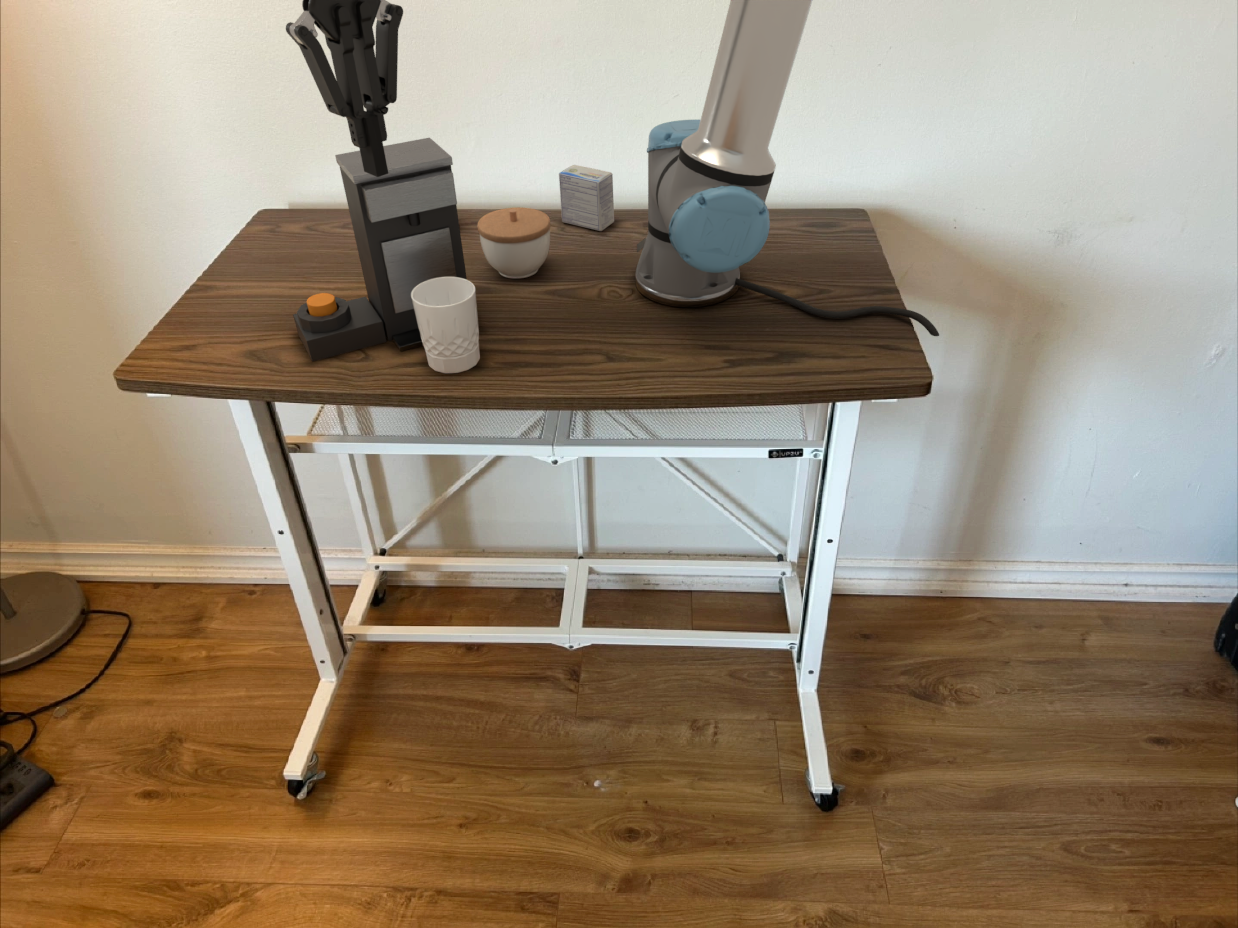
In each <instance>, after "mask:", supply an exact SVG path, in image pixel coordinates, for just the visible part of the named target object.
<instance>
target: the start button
mask: <svg viewBox="0 0 1238 928" xmlns="http://www.w3.org/2000/svg"><path fill="white" fill-rule="evenodd" d="M335 297H336V296H335V295H334V294H332V293H328V292H320V293H316V294H313V295H311V296H309V297H308V298H307V300H306V302H307V306H308V310H309V313H310V315H312V316H327V315H331V314H332V313H334V312H336V311H337V305H336V300H335Z"/></svg>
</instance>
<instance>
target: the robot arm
mask: <svg viewBox="0 0 1238 928" xmlns="http://www.w3.org/2000/svg"><path fill="white" fill-rule="evenodd" d="M813 1H814V0H730V1H729V4H728V10H727V13H726V17H725V21H724V25H723V29H722V33H721V36H720V41H719V45H718V49H717V53H716V57H715V60H714V64H713V68H712V73H711V77H710V82H709V84H708V89H707V92H706V97H705V101H704V104H703V107H702V108H703V109H702V113H701V116H700V119H681V120H671V121H667V122H663V123H660V124H657V125H656V126H654V127H653V128H651V130H650V132H649V134H648V142H647V147H646V154H647V174H648V175H647V180H648V181H647V192H648V193H647V221H648V222H647V234H646V235H647V236H646V237H645V238H643V239H642V240H640V241H639V242H638V243H637V244H636V253H638V252H640V251H641V253H640V256H639V259H638V261H637V264H636V268H635V286H636V288H637V291H639V293H640V294H641V295H642V296H644V297H645V298H647V299H649V300H651V301H653V302H656V303H659V304H661V305H665V306H672V307H680V308H697V307H699V308H700V307H706V306H711V305H716V304H718V303H721V302H723V301H725V300H728V299H729V298H731V297H733V295H735V294H736V293H737V291H738V290H739V288H740V287H741V288H743V289H747V290H750V291H752V292H755V293H758V294H761V295H764V296H766V297H769V298H772V299H775V300H777V301H780V302H783V303H785V304H789V305H790V306H793V307H795V308H797V309H799V310H801V311H804V312H806V313H808V314H810V315H813V316H817V317H821V318H827V319H847V318H854V317H859V316H863V315H869V314H884V315H892V316H899V317H900V316H901V317H904V318H905V317H906V318H909V319H912V320H913V321H916V322H918V323H919V324H920V325H921V326H923V327H924V328H925V330H926V331H927V332H928V333H929V335H931V336H932V337H940V333H939V331H938V330H937V328H936V326H935V325H934V324H933V323H932V322H931V321H930V320H929V319H928V318H927V317H925V316H924V315H922V314H921V313H919V312H917V311H914V310H910V309H905V308H899V307H892V306H883V305H871V306H864V307H863V306H862V307H859V308H853V309H850V310H849V309H848V310H842V311H840V310H839V311H834V310H827V309H826V310H825V309H822V308H817V307H815V306H812V305H810V304H808V303H805V302H803V301H801V300H800V299H797V298H794V297H792V296H789V295H787V294H784V293H781V292H778V291H776V290H774V289H771V288H767V287H765V286H762V285H759V284H756V283H753V282H750V281H748V280H744V279H741V270H740V267H741V266H743V265H744V264H748V263H749V262H751V261H752V260H754V258H755V257H756V256H758V254H759V253H760V252H761V250H762V249H763V247H764V246H765V244H766V242H767V239H768V237H769V234H770V226H771V221H770V211H769V209H768V205H766V201H767V197H768V194H769V191H770V188H771V184H772V181H773V177H774V174H775V171H776V168H777V166H776V165H777V164H776V162H775V160H774V158H773V156H772V153H771V152H770V150H769V147H770V143H771V140H772V137H773V134H774V131H775V127H776V124H777V120H778V117H779V113H780V111H781V106H782V103H783V100H784V96H785V95H786V94H785V93H786V90H787V87H788V84H789V80H790V78H791V74H792V71H793V67H794V63H795V60H796V57H797V54H798V50H799V47H800V44H801V40H802V37H803V33H804V30H805V28H806V23H807V20H808V17H809V14H810V10H811V7H812V4H813ZM301 5H302V6H301V7H302V10H303V12H302V13H301V14H300V16H299V17H298V18H297V19H296V21H295V22H292V21H289V22H288V23H286V25H285V32H286V33H287V34H288V35H289V37H290V38H291V39H292V40H293V41H294V42H295V44H296V45H297V46H298V47H299V49H300V52H301V53H302V56H303V58H304V60H305V62H306V64H307V67H308V68H309V71H310V74H311V76H312V78H313V80H314V83H315V85H316V87H317V89H318V91H319V94H320V96H321V98H322V100H323V103H324V104H325V107H326V109H327V111H328V112H329V113H331V114H334V115H337V116H339V117H342V118H346V120H347V125H348V130H349V136H350V140H351V143H352V144H353V146H354V147H356V148H359V151H360V153H361V158H362V163H363V168H364V172H367V173H369V174H371V175H374V176H376V177H380V176H383V175H385V174H388V168H387V163H386V158H385V152H384V147H383V146H384V143H383V142H386V141H387V140H388V132H387V127H386V121H385V115H387V114H388V113H389V107H388V106H389V105H390V104H395V103H396V101H397V98H398V63H399V62H398V60H399V59H398V57H399V56H398V54H399V50H398V49H399V29H400V26H401V22H402V19H403V16H404V8H403V7H402V6H401V5H398V4H395V3H391V2H389V1H388V0H302V2H301ZM376 19H377V20H376ZM375 20H376V23H375ZM374 24H375V32H374V29H373V26H374ZM315 26H316V27H317V29H318V30H319V31H320V32H321V33H322V34H323V35H324V39H325V43H326V45H327V48H328V49H329V52H330V55H331V60H332V65H333V69H332V67H331V64H330V62H329V60H328V58H327V54H326V53H325V50H324V48H323V47H322V45H321V43H320V42H319V40H318V36H319V33H318V31H317V29H316V27H315ZM374 33H375V35H374ZM374 47H375V48H374ZM333 71H334V72H333Z"/></svg>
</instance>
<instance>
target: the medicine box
mask: <svg viewBox="0 0 1238 928" xmlns="http://www.w3.org/2000/svg"><path fill="white" fill-rule="evenodd" d="M613 175H614V174H613V173H612V172H611V171H606V170H601V169H597V168H592V167H588V166H584V165H583V166H582V165H577V164H572V165H570V166H568V167H566V168H565V169H563V170H562V171H560V172H559V173H558V182H559V197H560V208H561V222H562V223H565V224H569V225H573V226H577V227H582V228H586V229H591V230H593V231H594V230H595V231H599V232H602V231H604V230H605V229H606V228H608V227H609V226H610V225H612V224H613V223H615V205H614V204H615V203H614V179H613V178H614V176H613Z"/></svg>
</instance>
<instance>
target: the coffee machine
mask: <svg viewBox="0 0 1238 928" xmlns="http://www.w3.org/2000/svg"><path fill="white" fill-rule="evenodd" d="M383 147H384V152H385V158H386V163H387V168H388V174H385V175H383V176H380V177H376V176H374V175H371V174H369V173H367V172H364V168H363V163H362V158H361V153H360V150H354V151H349V152H345V153H339V154H335V155H334V157H335V161H336V164H337V165H338V166H339V170H340V175H341V180H342V184H343V190H344V192H345V197H346V202H347V207H348V211H349V216H350V220H351V221H350V222H351V225H352V230H353V234H354V239H355V244H356V249H357V253H358V258H359V262H360V266H361V272H362V276H363V280H364V284H365V290H366V294H367V299H368V301H369V302H370V304H371V305H372V307H373V308H374V310H375V311H376V313H377V314H378V316H379V317H380V319H381V320H382V322H383V327H384V332H385V336H386V340H387V342H393V344H394V345H395V346H396V347H397V349H398V350H399V352H400V353H402V352H405V351H408V350H413V349H417V348H420V347H424V346H423V342H422V339H421V336H420V331H419V328H418V324H417V319H416V315H415V311H414V307H413V302H412V298H411V292H412V290H413V289H414V288H415V287H416V286H417V285H418V284H420V283H422V282H424V281H427V280H430V279H433V278H438V277H459V278H463V279H466V280H468V279H467V271H466V263H465V258H464V249H463V242H462V234H461V229H460V228H461V227H460V221H459V213H458V200H457V192H456V184H455V178H454V173H453V171H452V170H453V169H452V166H453V165H454V163H453V157H452V156H451V155H450V154H449V153H448V152H447V151H445V149H443V148H442V147H441V146H440V145H439V144H438V143H437V142H436V141H434V140H433V139H432V138H431V137H424V138H420V139H413V140H409V141H408V140H407V141H403V142H399V143H398V142H397V143H393V144H387V145H383Z"/></svg>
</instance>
